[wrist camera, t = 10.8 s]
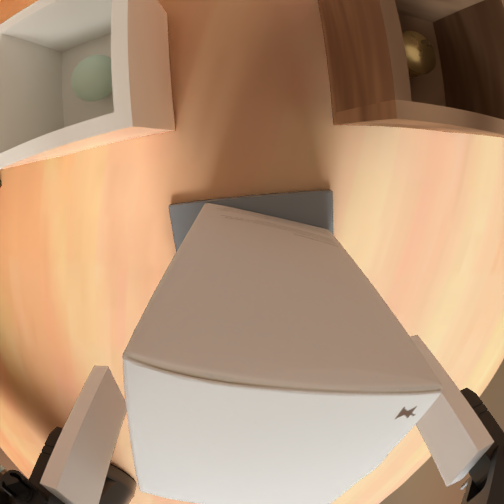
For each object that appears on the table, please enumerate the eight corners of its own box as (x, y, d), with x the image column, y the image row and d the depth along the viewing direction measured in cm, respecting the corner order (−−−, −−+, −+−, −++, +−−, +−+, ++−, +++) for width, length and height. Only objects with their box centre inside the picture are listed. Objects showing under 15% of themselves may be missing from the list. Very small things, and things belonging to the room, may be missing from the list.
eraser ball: (86, 108, 16) (62, 105, 13) (84, 67, 15) (61, 59, 12) (127, 97, 16) (107, 90, 13) (125, 54, 15) (105, 42, 12)
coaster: (196, 335, 24) (195, 339, 23) (170, 204, 20) (168, 206, 19) (328, 323, 24) (329, 327, 23) (330, 189, 20) (332, 191, 19)
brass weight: (380, 77, 16) (400, 70, 13) (374, 39, 15) (393, 26, 12) (416, 82, 16) (439, 77, 13) (410, 45, 15) (432, 36, 12)
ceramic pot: (64, 155, 18) (-7, 171, 11) (59, 49, 15) (-6, 28, 8) (175, 130, 18) (132, 126, 11) (167, 14, 15) (130, -39, 7)
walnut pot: (333, 125, 18) (396, 118, 10) (317, -2, 15) (357, -68, 6) (448, 132, 18) (532, 142, 10) (433, 19, 15) (503, -11, 6)
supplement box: (202, 198, 19) (110, 346, 5) (331, 228, 20) (457, 384, 6) (182, 313, 22) (133, 493, 9) (293, 333, 23) (331, 509, 10)
